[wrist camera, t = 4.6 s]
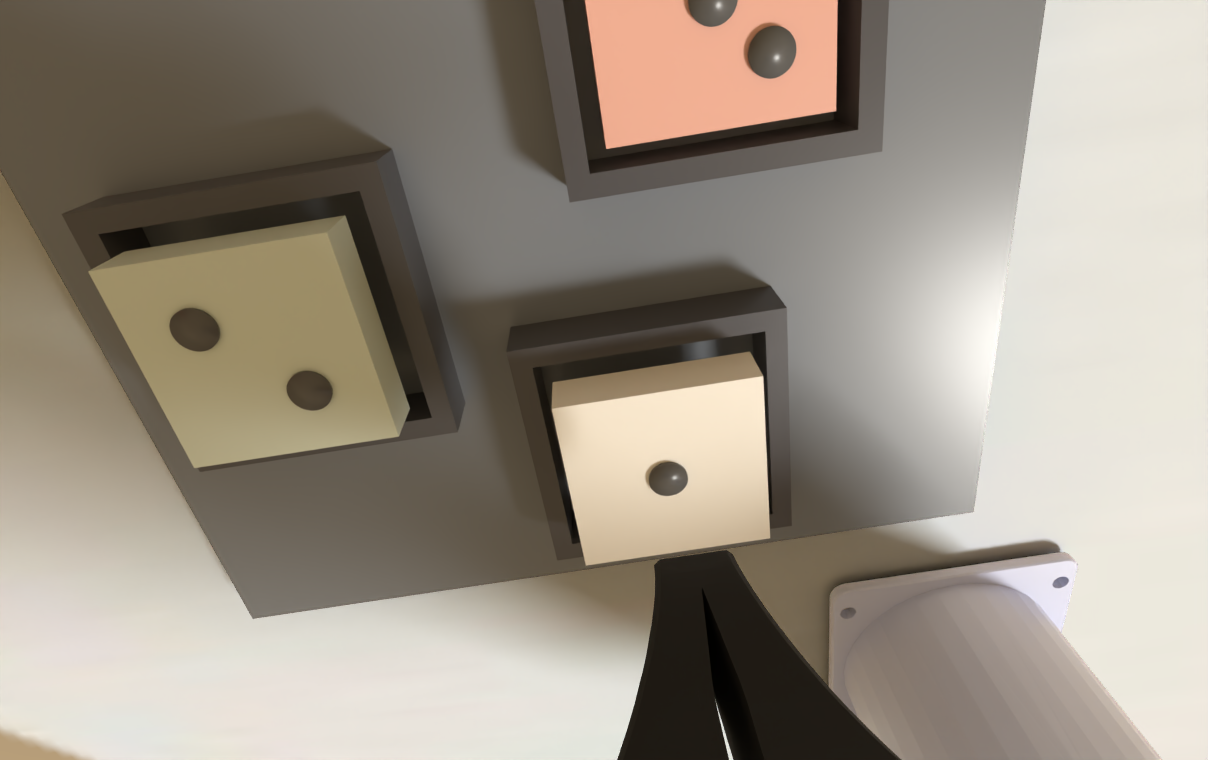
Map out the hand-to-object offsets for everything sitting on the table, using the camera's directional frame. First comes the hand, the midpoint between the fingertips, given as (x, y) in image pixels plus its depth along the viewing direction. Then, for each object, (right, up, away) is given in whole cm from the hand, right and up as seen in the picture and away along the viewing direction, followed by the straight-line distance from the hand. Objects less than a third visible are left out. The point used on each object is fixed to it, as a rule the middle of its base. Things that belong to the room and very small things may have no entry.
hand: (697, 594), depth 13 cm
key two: (-9, +5, +2) cm, 10 cm away
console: (-3, +7, +5) cm, 9 cm away
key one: (0, +2, +4) cm, 5 cm away
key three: (0, +11, +1) cm, 12 cm away
